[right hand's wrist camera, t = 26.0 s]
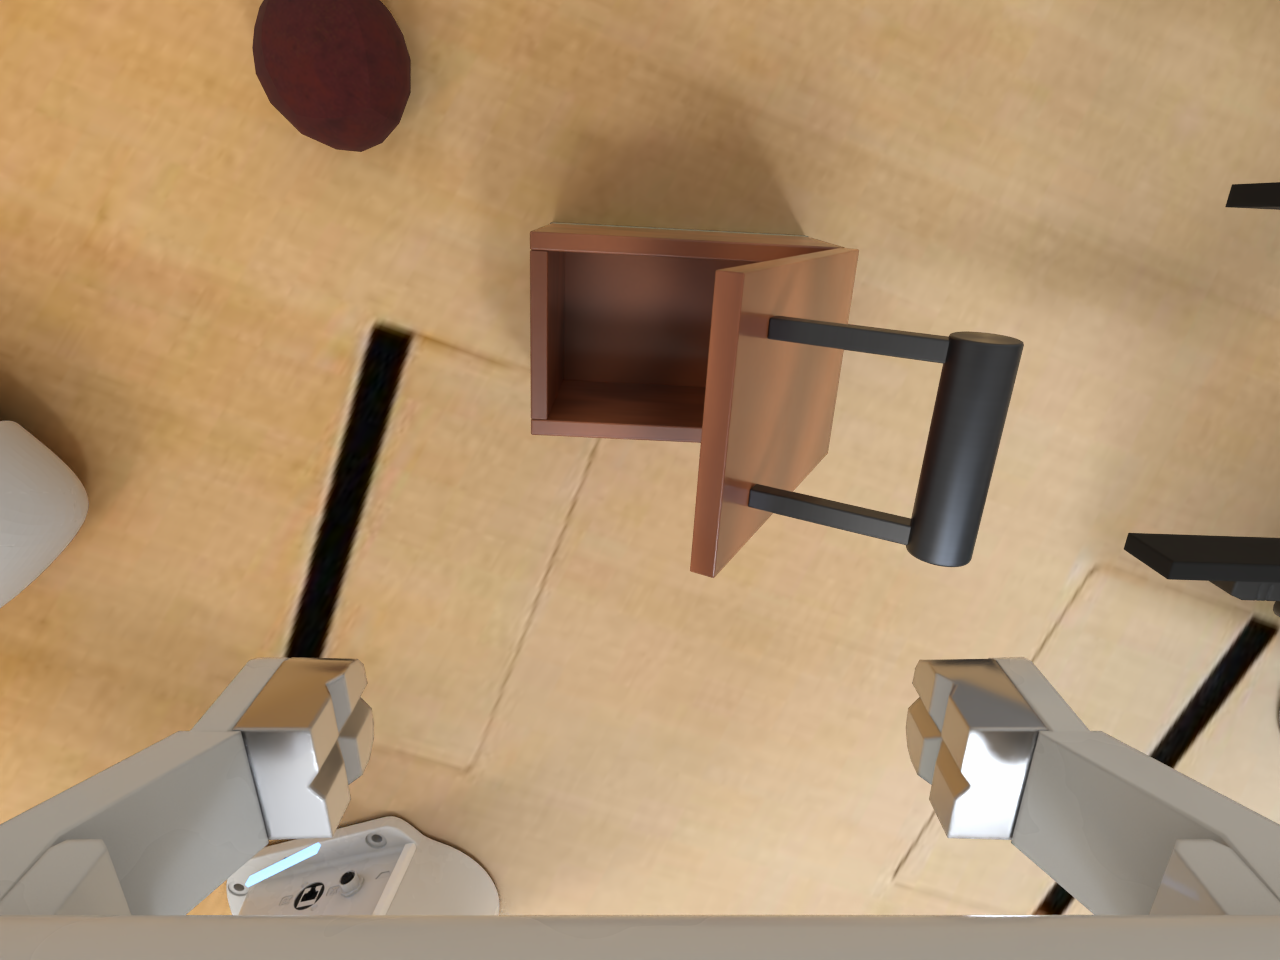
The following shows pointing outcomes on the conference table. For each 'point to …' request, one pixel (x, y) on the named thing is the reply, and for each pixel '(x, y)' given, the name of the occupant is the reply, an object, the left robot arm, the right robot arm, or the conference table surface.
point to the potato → (333, 68)
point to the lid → (804, 408)
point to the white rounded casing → (34, 508)
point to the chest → (630, 324)
